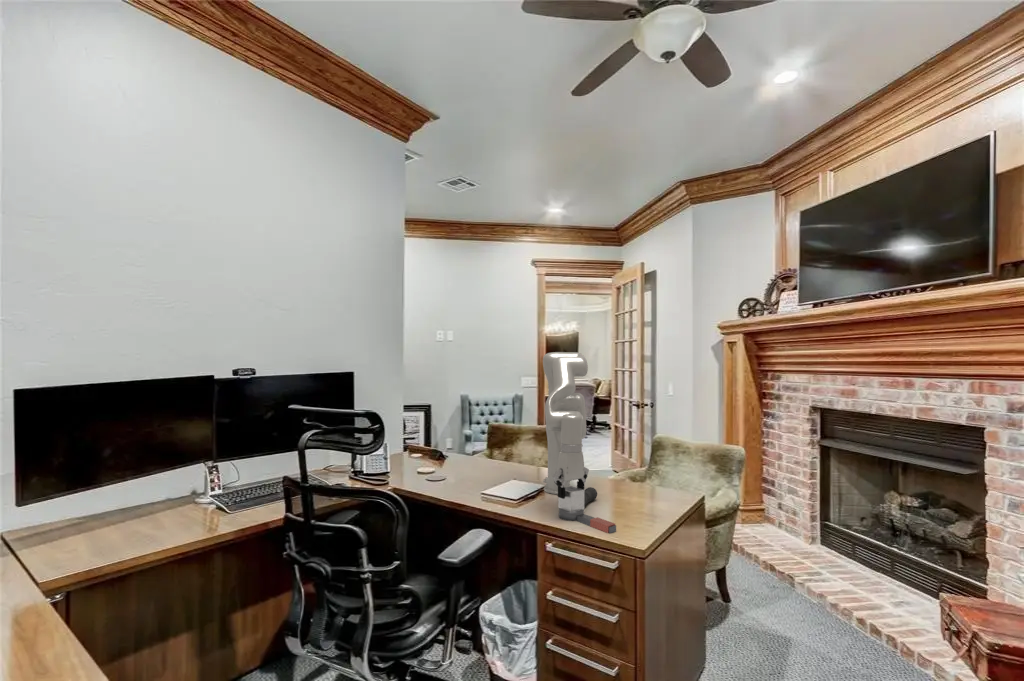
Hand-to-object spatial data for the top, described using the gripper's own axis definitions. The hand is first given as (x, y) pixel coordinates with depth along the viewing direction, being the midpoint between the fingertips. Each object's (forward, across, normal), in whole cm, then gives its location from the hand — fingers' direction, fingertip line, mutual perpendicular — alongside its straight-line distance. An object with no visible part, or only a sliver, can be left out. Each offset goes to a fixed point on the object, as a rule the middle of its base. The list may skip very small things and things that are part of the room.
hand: (571, 495), depth 176 cm
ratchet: (+7, 0, +8) cm, 11 cm away
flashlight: (+8, -15, -8) cm, 19 cm away
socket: (+5, 0, 0) cm, 5 cm away
